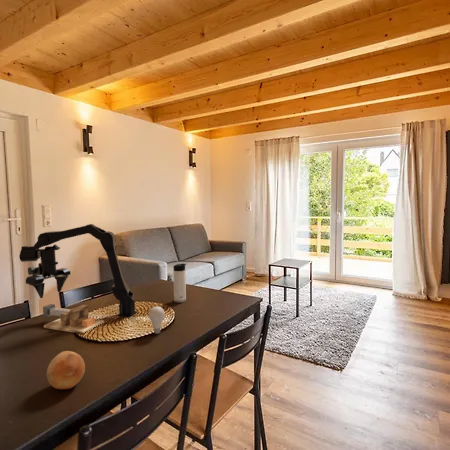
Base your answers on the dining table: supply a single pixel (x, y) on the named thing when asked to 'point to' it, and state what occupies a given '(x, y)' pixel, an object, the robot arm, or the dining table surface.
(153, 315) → the lightbulb
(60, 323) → the bearing stand
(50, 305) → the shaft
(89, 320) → the block
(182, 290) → the travel mug
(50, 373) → the onion
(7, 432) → the dining table surface
